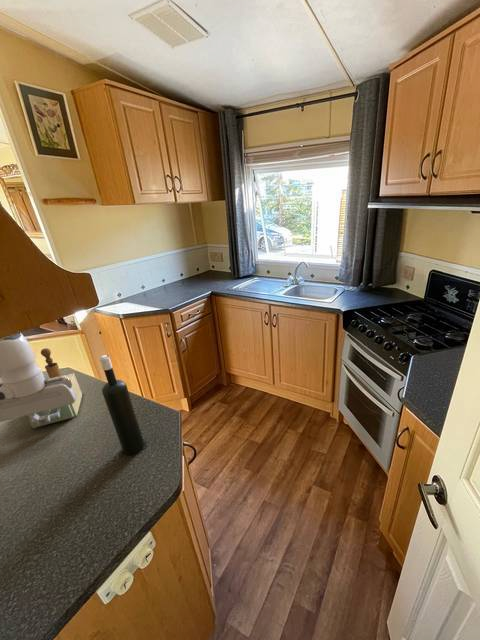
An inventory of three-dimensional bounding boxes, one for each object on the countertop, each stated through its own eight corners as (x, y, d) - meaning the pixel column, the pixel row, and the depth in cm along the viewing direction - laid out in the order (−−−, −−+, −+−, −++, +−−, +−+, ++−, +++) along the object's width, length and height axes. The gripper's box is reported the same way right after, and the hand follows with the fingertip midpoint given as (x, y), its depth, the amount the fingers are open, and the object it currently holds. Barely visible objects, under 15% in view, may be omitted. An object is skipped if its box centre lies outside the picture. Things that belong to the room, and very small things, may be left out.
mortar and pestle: (47, 392, 114) (29, 352, 107) (62, 384, 120) (46, 344, 112) (60, 395, 112) (42, 353, 105) (74, 386, 118) (58, 346, 110)
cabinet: (76, 416, 100) (67, 392, 96) (33, 427, 95) (20, 403, 91) (82, 394, 112) (73, 373, 108) (43, 404, 107) (33, 382, 103)
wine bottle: (125, 458, 81) (91, 364, 68) (121, 446, 85) (89, 355, 73) (146, 449, 84) (118, 357, 71) (142, 437, 88) (114, 349, 75)
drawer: (71, 424, 94) (62, 405, 91) (29, 436, 90) (18, 416, 87) (78, 396, 109) (71, 379, 106) (42, 405, 105) (34, 387, 101)
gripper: (69, 370, 90) (84, 406, 96) (-13, 388, 83) (8, 426, 89) (66, 379, 85) (81, 417, 90) (-23, 399, 77) (0, 439, 83)
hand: (44, 422), depth 89 cm, fingers closed
